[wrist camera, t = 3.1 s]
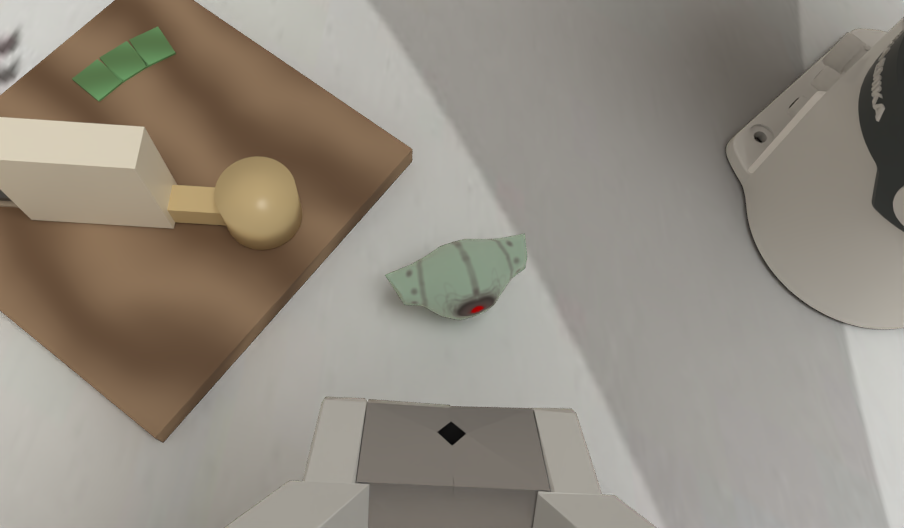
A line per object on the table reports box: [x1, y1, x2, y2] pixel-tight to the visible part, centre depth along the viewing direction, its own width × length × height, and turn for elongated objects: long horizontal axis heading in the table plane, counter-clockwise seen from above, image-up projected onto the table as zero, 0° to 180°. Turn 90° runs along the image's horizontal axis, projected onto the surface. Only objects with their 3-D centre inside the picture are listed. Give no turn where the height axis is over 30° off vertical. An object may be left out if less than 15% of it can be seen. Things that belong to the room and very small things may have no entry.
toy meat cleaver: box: [0, 117, 302, 250], centre depth 41 cm, size 18×4×7 cm, turn 88°
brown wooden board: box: [0, 0, 412, 442], centre depth 46 cm, size 22×22×2 cm
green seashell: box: [385, 234, 527, 320], centre depth 42 cm, size 8×4×7 cm, turn 109°
